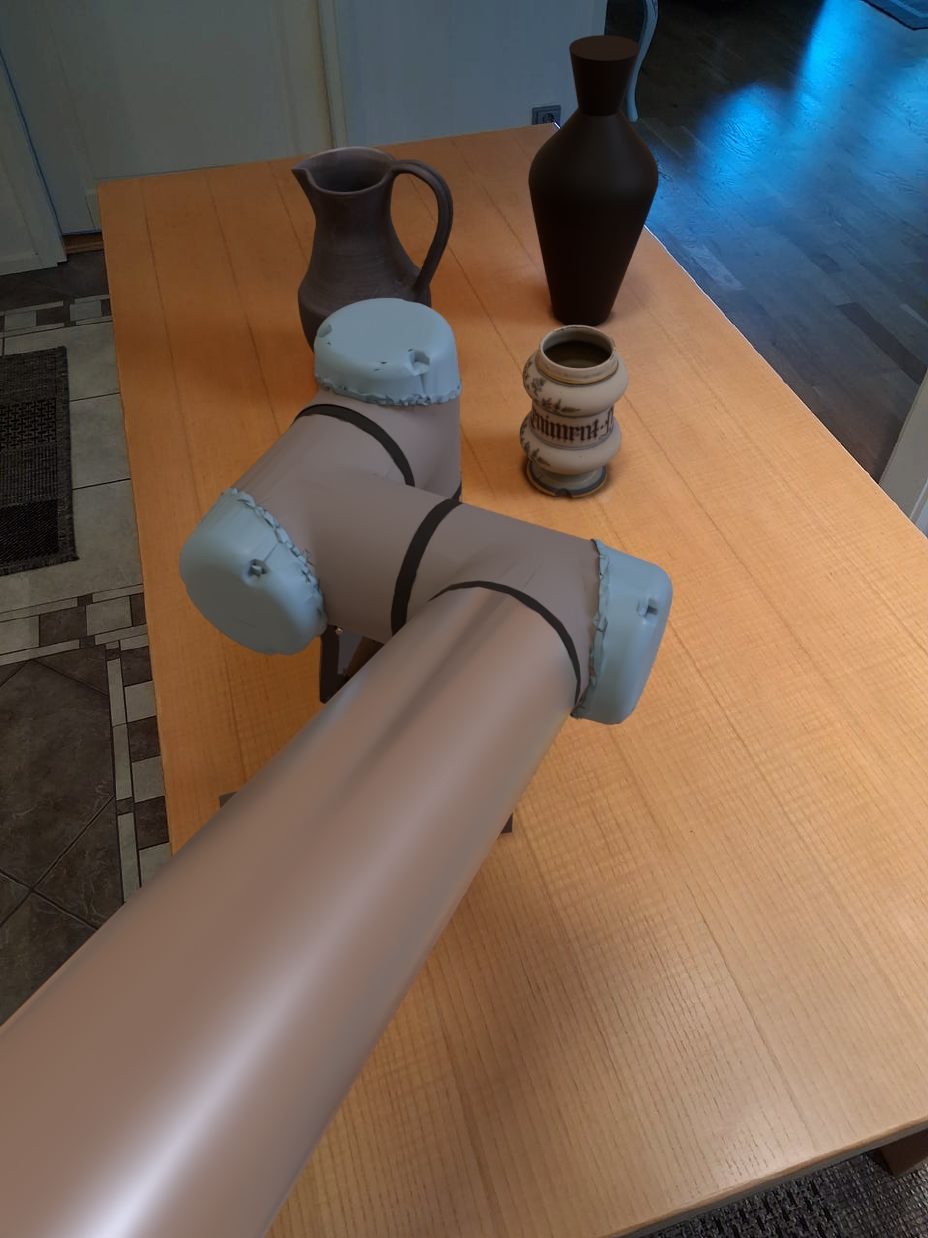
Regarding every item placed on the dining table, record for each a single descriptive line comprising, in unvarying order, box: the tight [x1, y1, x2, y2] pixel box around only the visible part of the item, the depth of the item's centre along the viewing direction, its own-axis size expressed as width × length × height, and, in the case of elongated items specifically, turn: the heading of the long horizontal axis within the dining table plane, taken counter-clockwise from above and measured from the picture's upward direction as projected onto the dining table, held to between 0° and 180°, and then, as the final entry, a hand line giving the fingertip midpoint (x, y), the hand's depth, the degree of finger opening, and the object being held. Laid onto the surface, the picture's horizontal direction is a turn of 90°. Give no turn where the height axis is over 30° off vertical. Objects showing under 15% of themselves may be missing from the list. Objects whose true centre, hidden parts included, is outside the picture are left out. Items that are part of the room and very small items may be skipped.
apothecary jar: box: [518, 325, 629, 499], centre depth 104 cm, size 12×12×18 cm
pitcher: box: [290, 145, 455, 356], centre depth 112 cm, size 17×21×30 cm
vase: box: [527, 34, 660, 328], centre depth 120 cm, size 17×17×35 cm
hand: (425, 731), depth 75 cm, fingers closed on apple, 8 cm apart
